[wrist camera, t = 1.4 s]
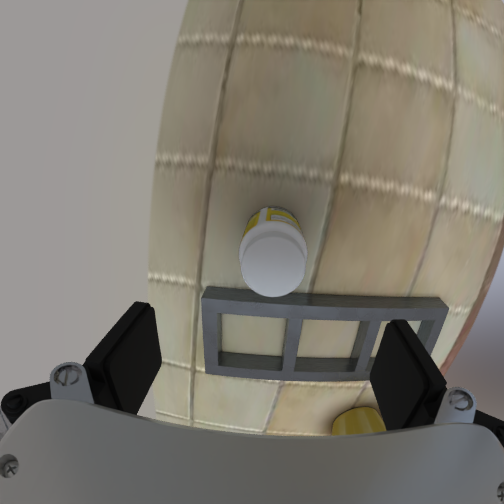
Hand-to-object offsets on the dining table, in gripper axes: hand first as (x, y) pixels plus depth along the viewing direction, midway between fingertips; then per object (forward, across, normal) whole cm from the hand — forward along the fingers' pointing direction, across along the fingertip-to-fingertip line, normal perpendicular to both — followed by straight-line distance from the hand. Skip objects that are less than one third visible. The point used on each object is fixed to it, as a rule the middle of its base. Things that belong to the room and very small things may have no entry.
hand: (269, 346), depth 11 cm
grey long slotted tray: (+16, -6, +10) cm, 20 cm away
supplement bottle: (+16, 0, 0) cm, 16 cm away
